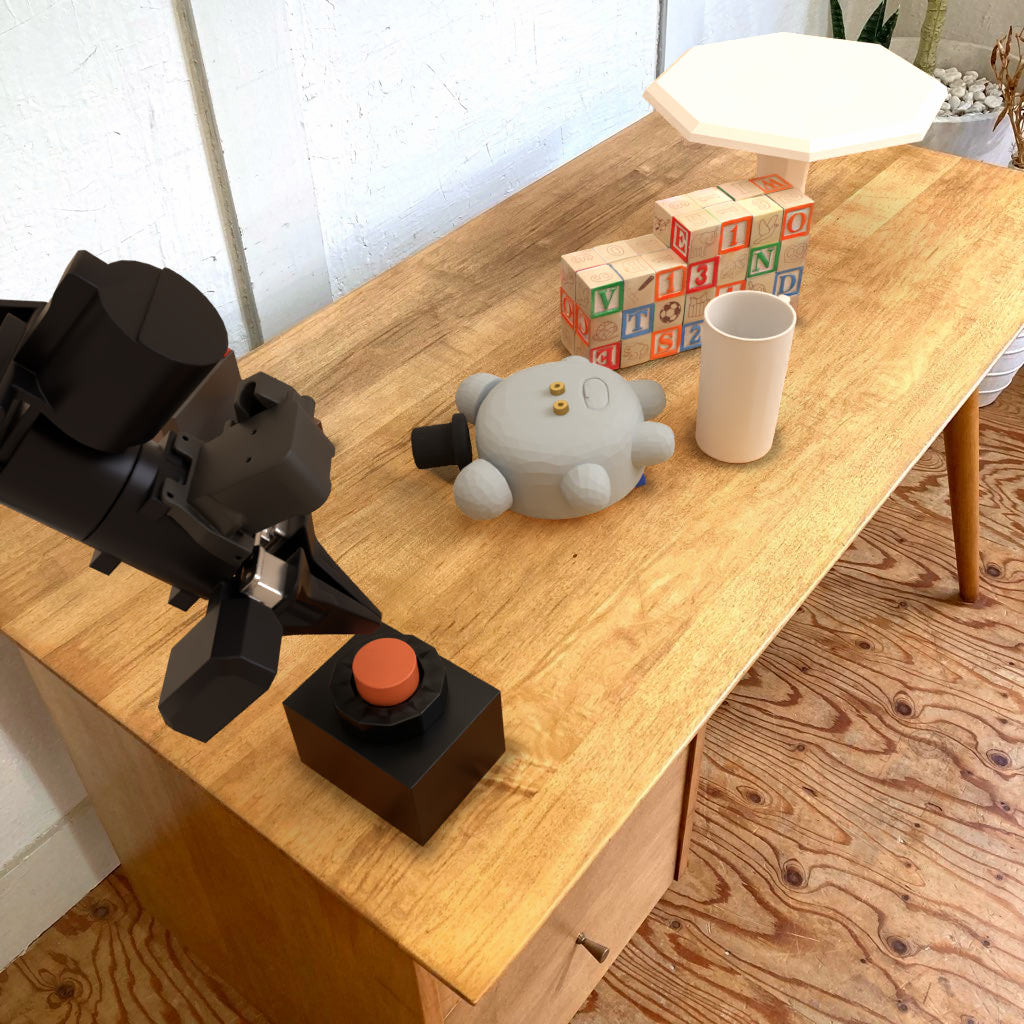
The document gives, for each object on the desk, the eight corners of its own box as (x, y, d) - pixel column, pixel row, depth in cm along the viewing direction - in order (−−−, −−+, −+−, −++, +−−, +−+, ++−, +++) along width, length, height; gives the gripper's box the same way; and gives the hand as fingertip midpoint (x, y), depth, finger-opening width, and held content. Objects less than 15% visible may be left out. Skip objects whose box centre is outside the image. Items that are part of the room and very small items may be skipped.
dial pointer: (194, 479, 81) (173, 415, 76) (176, 476, 81) (154, 412, 77) (250, 409, 87) (233, 346, 83) (233, 406, 87) (215, 344, 83)
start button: (343, 687, 60) (338, 668, 59) (385, 647, 62) (381, 627, 61) (390, 717, 58) (386, 698, 57) (432, 675, 60) (429, 655, 59)
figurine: (659, 395, 90) (430, 426, 92) (653, 311, 84) (409, 345, 86) (688, 537, 77) (422, 570, 79) (684, 450, 72) (397, 487, 73)
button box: (300, 762, 65) (275, 683, 60) (386, 677, 70) (369, 597, 64) (422, 847, 61) (407, 770, 55) (506, 751, 65) (499, 671, 60)
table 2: (637, 181, 120) (643, 29, 109) (889, 181, 117) (923, 25, 106) (634, 316, 100) (641, 147, 89) (938, 320, 97) (986, 146, 86)
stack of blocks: (588, 380, 93) (589, 256, 84) (559, 343, 97) (558, 222, 89) (796, 321, 98) (817, 199, 90) (760, 289, 102) (777, 169, 94)
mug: (746, 477, 83) (765, 351, 74) (675, 444, 86) (686, 319, 78) (811, 415, 88) (835, 290, 80) (741, 385, 91) (758, 263, 83)
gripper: (161, 531, 38) (481, 692, 46) (232, 268, 52) (470, 427, 60) (24, 679, 44) (331, 802, 51) (120, 405, 57) (352, 535, 65)
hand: (377, 624), depth 57 cm, fingers closed
